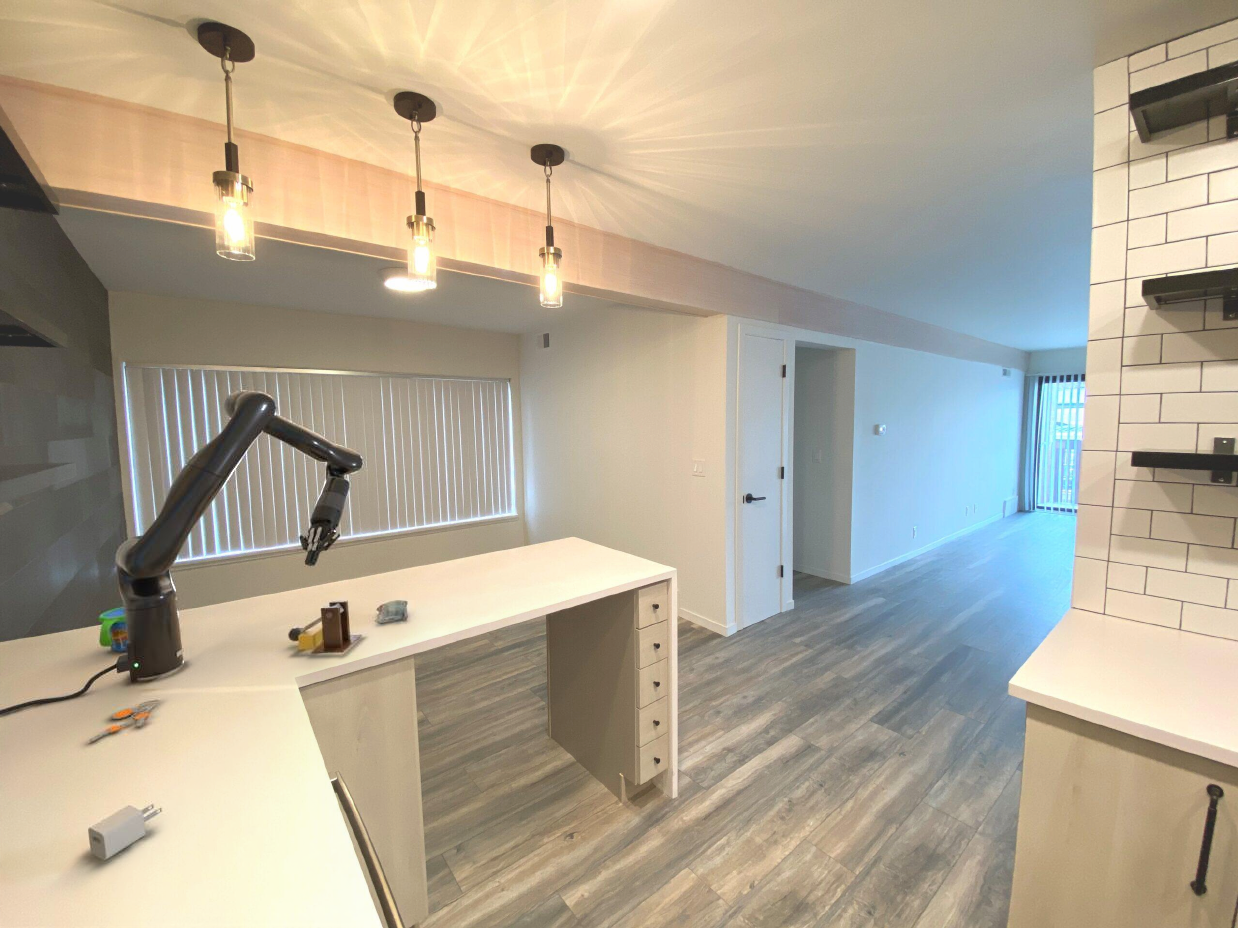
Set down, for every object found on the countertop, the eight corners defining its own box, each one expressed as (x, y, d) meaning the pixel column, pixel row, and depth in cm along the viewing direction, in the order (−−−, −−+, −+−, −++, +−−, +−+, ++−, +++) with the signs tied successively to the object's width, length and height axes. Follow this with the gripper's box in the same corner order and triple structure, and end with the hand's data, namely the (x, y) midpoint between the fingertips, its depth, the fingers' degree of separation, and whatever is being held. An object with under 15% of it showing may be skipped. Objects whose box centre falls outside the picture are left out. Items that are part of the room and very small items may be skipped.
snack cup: (137, 634, 143) (133, 600, 142) (175, 633, 144) (172, 598, 143) (81, 661, 128) (76, 622, 127) (124, 659, 128) (119, 621, 127)
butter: (293, 655, 129) (292, 638, 128) (311, 641, 137) (310, 625, 136) (312, 655, 129) (311, 637, 128) (329, 641, 137) (328, 624, 136)
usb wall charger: (90, 852, 71) (87, 826, 70) (151, 815, 77) (148, 791, 77) (107, 861, 69) (103, 834, 69) (167, 823, 76) (164, 798, 75)
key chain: (123, 707, 106) (123, 703, 106) (166, 699, 109) (166, 696, 109) (84, 743, 95) (84, 739, 94) (134, 734, 97) (133, 730, 97)
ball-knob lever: (290, 646, 131) (282, 634, 130) (298, 639, 134) (290, 628, 134) (339, 616, 130) (331, 605, 130) (346, 611, 134) (339, 599, 134)
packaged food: (375, 629, 144) (374, 612, 143) (377, 614, 155) (376, 599, 154) (408, 624, 147) (407, 608, 147) (407, 610, 158) (407, 595, 158)
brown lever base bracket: (311, 656, 128) (307, 612, 127) (332, 639, 138) (329, 597, 137) (343, 655, 128) (339, 611, 127) (362, 638, 138) (359, 596, 137)
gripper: (301, 507, 149) (279, 562, 140) (337, 501, 146) (318, 557, 137) (320, 518, 156) (301, 571, 146) (356, 512, 152) (338, 567, 143)
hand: (309, 564), depth 142 cm, fingers closed
